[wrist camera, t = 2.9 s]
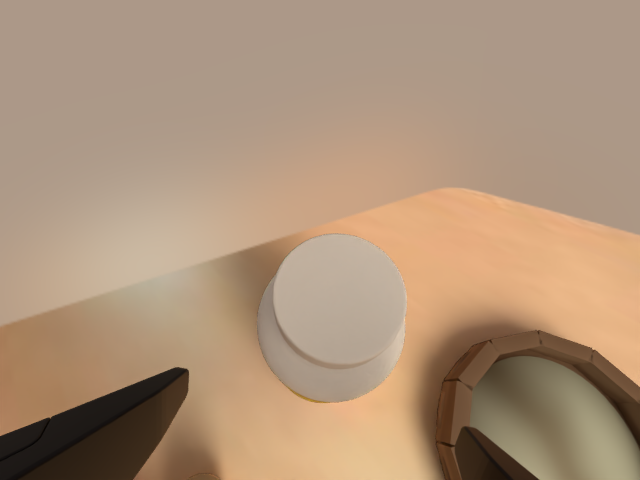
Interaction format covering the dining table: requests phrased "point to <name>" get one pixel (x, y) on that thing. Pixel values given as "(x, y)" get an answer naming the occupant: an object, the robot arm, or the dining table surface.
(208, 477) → the bead maple
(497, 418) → the faceted wooden bowl
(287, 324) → the supplement bottle
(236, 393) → the dining table surface
